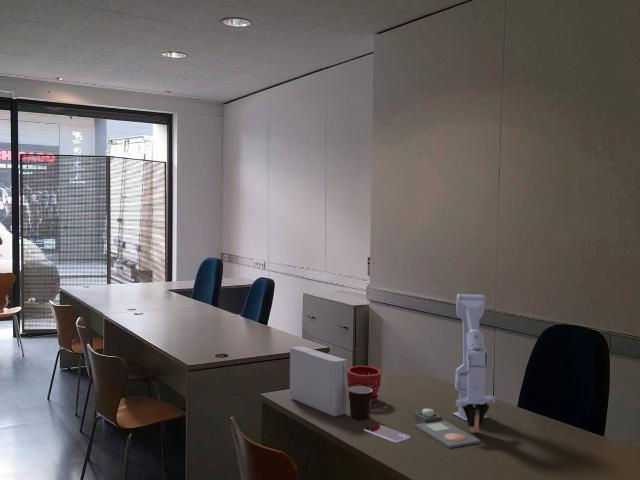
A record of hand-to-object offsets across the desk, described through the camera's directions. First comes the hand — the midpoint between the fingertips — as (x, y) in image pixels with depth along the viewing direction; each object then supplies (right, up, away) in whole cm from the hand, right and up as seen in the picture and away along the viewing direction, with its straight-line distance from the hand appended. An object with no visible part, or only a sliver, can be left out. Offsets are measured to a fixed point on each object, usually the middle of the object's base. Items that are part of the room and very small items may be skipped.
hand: (474, 425), depth 206 cm
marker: (0, -2, 0) cm, 2 cm away
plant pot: (-35, 0, +33) cm, 48 cm away
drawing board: (-10, -2, -2) cm, 10 cm away
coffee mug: (-37, -1, +15) cm, 40 cm away
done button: (-14, -2, +12) cm, 18 cm away
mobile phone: (-30, -3, -2) cm, 30 cm away
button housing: (-14, -2, +12) cm, 18 cm away
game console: (-53, 0, +26) cm, 59 cm away
